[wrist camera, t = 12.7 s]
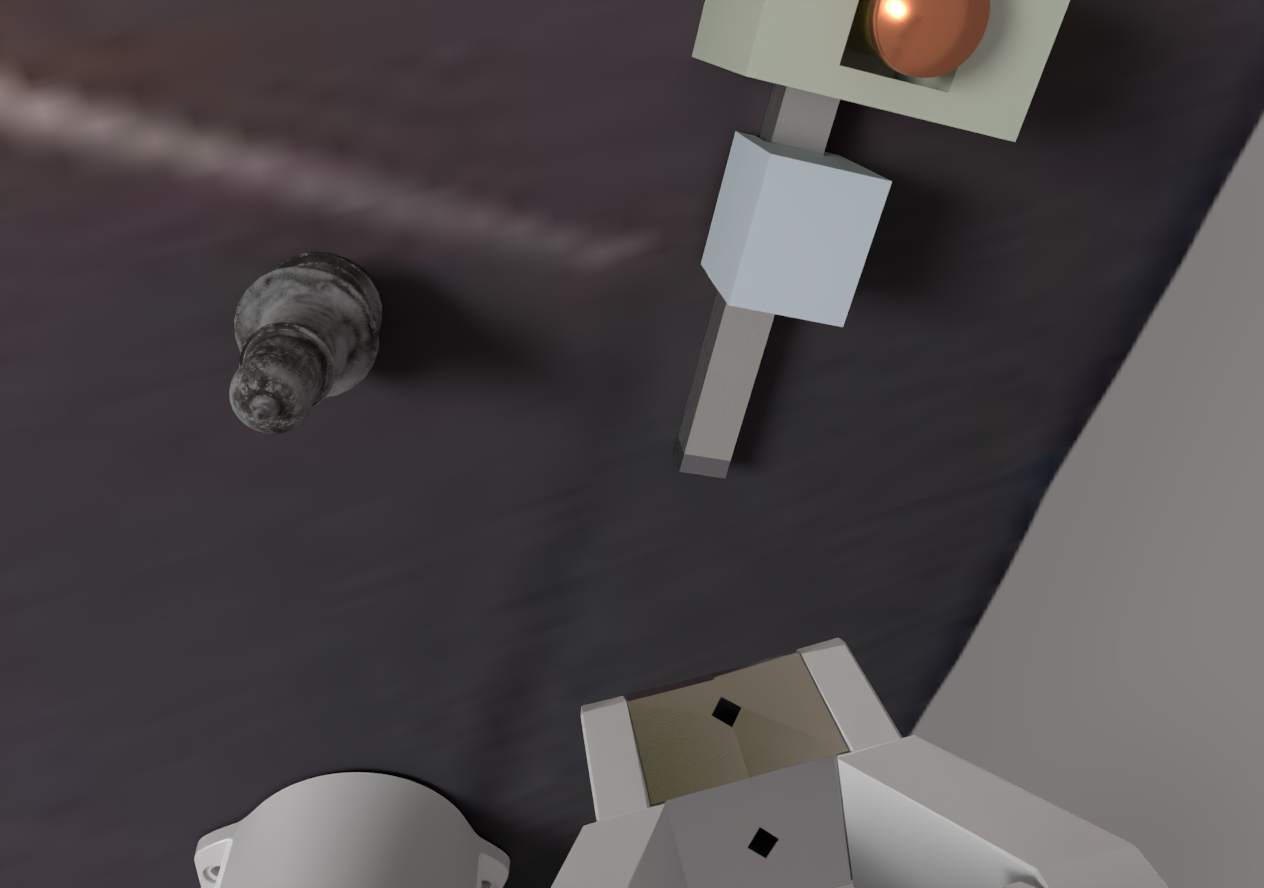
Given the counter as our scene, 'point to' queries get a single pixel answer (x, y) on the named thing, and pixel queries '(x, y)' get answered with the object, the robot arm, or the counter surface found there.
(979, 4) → the copper knob
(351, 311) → the stone chess piece
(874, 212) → the block
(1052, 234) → the counter surface
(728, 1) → the block with square hole
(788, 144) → the rail
